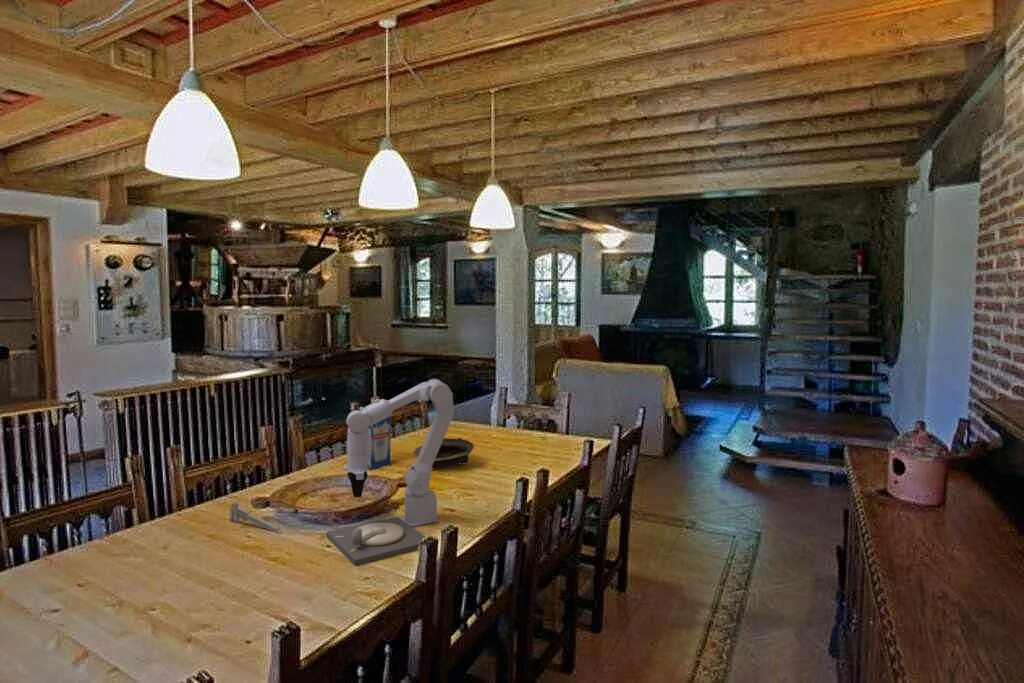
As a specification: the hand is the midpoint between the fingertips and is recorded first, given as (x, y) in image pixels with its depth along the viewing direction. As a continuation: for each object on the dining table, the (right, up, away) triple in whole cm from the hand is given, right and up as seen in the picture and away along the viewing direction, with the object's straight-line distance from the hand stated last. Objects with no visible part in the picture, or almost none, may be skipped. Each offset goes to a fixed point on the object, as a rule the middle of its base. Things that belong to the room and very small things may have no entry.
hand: (357, 496), depth 179 cm
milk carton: (-9, -5, +64) cm, 65 cm away
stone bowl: (+18, -5, +68) cm, 70 cm away
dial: (+8, -9, -11) cm, 16 cm away
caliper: (-30, -9, 0) cm, 32 cm away
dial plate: (+8, -10, -9) cm, 16 cm away
